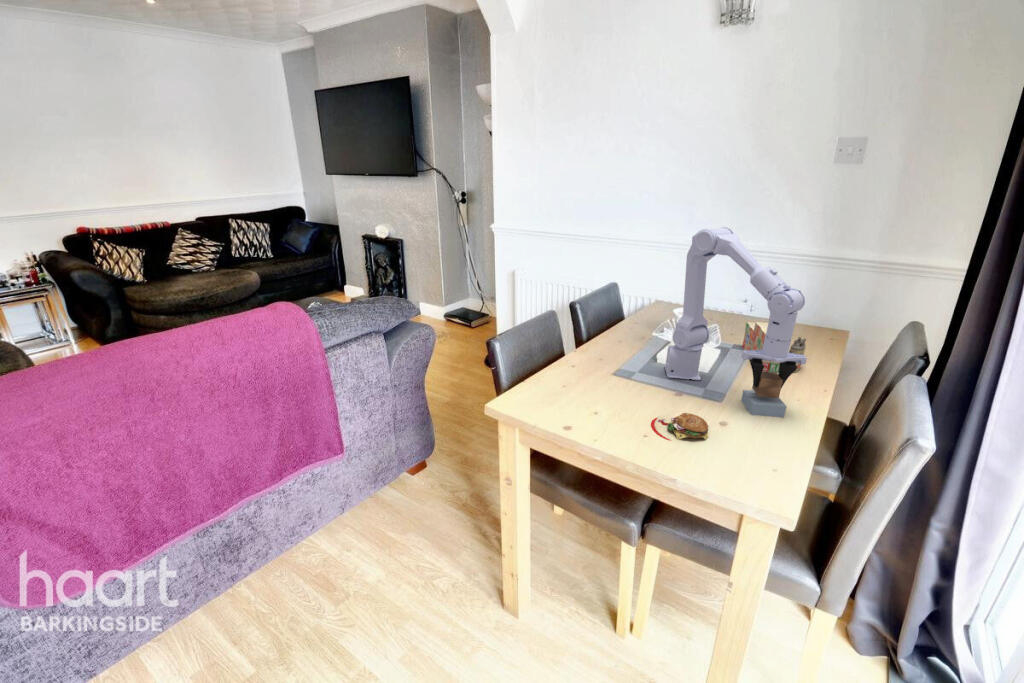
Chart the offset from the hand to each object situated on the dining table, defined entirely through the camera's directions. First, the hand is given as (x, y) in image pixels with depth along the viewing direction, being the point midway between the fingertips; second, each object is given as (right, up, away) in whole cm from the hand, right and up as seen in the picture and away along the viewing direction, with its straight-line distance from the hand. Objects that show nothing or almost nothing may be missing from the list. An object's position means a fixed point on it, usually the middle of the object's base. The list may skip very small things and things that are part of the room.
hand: (766, 386), depth 124 cm
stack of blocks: (+16, +6, +35) cm, 38 cm away
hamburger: (-25, -10, -8) cm, 28 cm away
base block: (0, -6, +2) cm, 7 cm away
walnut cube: (0, -2, +1) cm, 2 cm away
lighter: (+23, +3, +27) cm, 36 cm away
